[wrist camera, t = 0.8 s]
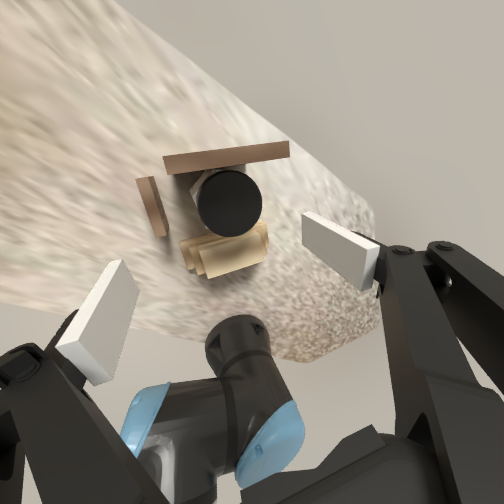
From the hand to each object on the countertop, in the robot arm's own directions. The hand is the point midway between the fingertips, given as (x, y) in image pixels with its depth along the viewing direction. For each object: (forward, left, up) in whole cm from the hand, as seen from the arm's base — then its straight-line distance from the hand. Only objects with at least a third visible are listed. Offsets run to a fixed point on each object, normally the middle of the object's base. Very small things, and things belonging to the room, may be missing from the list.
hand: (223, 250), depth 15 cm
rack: (+2, -1, -23) cm, 23 cm away
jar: (+1, -3, -23) cm, 23 cm away
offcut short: (-8, -3, -18) cm, 20 cm away
